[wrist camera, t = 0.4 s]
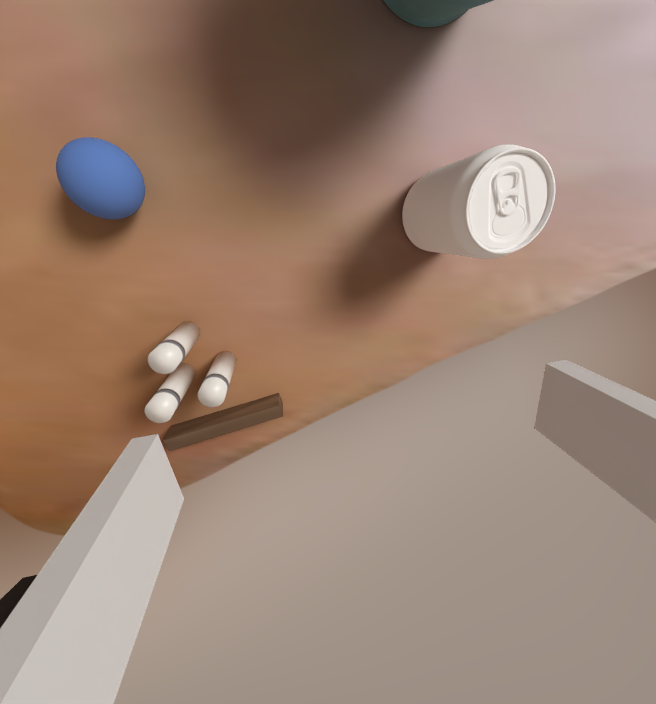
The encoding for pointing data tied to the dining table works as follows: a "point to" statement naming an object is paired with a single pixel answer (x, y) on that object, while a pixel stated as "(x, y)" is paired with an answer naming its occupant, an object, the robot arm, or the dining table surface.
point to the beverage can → (481, 203)
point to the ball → (100, 178)
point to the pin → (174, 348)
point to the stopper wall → (224, 422)
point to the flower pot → (431, 10)
